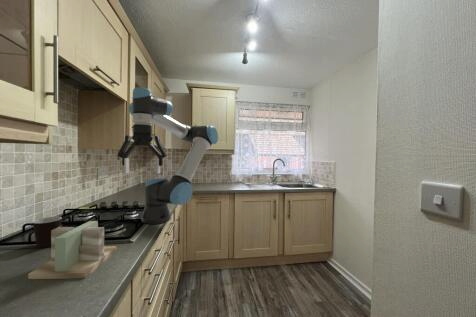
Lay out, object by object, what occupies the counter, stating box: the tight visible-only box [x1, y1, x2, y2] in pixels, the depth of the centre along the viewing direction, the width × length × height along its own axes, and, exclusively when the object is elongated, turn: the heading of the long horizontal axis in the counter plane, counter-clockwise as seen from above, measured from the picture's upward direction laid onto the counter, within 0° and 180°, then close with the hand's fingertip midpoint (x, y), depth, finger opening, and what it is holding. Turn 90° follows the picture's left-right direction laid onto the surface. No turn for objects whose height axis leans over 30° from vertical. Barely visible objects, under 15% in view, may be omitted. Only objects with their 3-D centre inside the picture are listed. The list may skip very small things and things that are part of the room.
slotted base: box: [27, 226, 118, 280], centre depth 71 cm, size 18×16×12 cm
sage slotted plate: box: [55, 220, 99, 271], centre depth 71 cm, size 16×3×10 cm, turn 4°
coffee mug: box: [32, 216, 63, 249], centre depth 85 cm, size 12×9×10 cm
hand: (142, 173), depth 93 cm, fingers open, 13 cm apart
